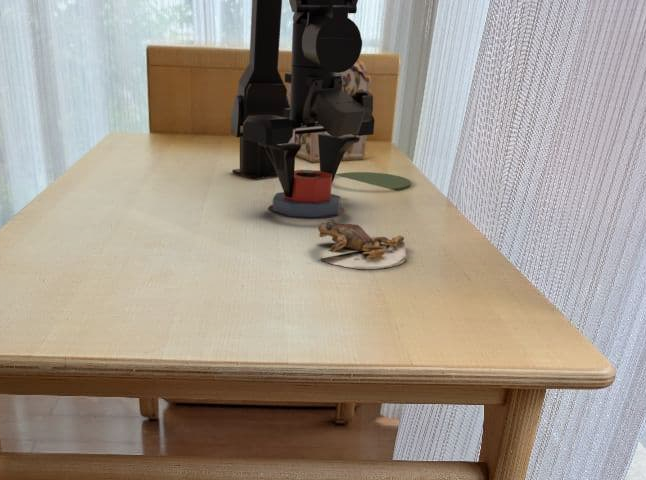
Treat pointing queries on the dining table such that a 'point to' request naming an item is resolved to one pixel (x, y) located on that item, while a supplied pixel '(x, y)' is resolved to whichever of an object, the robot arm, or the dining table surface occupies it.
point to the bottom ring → (306, 207)
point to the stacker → (341, 211)
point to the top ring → (311, 187)
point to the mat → (379, 179)
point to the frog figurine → (362, 247)
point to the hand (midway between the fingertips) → (307, 194)
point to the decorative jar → (309, 150)
